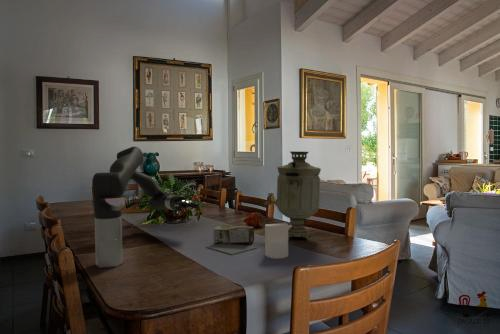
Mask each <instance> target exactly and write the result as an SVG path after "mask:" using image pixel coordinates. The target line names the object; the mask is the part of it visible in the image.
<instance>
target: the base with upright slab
mask: <svg viewBox="0 0 500 334" xmlns="http://www.w3.org/2000/svg"><path fill="white" fill-rule="evenodd" d="M288 230H289V224H288V223H285V222H284V223H283V222H282V223H269V224H264V255H266V256H267V257H266V256H265V257H266V258H269V257H270V259H284V258H287V257H289V239H288Z"/></svg>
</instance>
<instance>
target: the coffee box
mask: <svg viewBox="0 0 500 334" xmlns="http://www.w3.org/2000/svg"><path fill="white" fill-rule="evenodd" d="M253 242H255V227H254V226H252V227H250V226H247V225H246V226H245V225H244V226H241V225H219V226H217V227H215V228H213V243H214V244H221V243H225V244H240V245H249V246H251V244H252V243H253Z"/></svg>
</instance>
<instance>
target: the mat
mask: <svg viewBox="0 0 500 334" xmlns="http://www.w3.org/2000/svg"><path fill="white" fill-rule="evenodd" d="M206 249H209V250H212V249H213V251H216V252H219V253H223V254H227V255H230V254H231V255H230V256H233V254H234V255H237V254H240V253H244V251H245V252H248V250H249V251H252V250H256V249H258V247H256V246H252V245H240V244H225V243H215V244H213V245H209V246H206Z"/></svg>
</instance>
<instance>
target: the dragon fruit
mask: <svg viewBox="0 0 500 334" xmlns="http://www.w3.org/2000/svg"><path fill="white" fill-rule="evenodd" d="M264 221H265V216H264V215H263V214H262V213H261V212H257V211H255V212H252V211H251V212H250V213H249V214H247V215H246V217H245V218H244V220H243V222H244V223H245V225H246V227H254V228H256V227H260V225H262V224H264Z"/></svg>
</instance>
